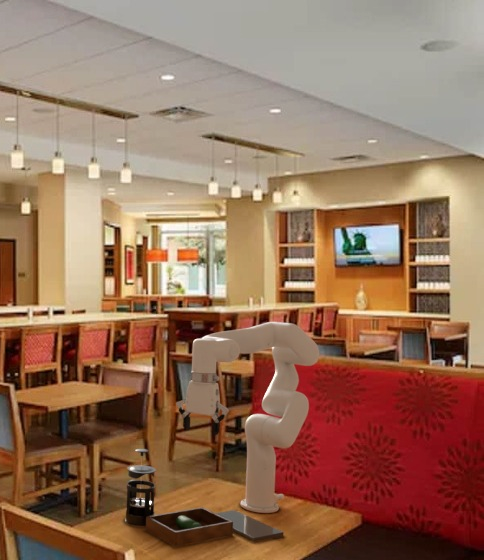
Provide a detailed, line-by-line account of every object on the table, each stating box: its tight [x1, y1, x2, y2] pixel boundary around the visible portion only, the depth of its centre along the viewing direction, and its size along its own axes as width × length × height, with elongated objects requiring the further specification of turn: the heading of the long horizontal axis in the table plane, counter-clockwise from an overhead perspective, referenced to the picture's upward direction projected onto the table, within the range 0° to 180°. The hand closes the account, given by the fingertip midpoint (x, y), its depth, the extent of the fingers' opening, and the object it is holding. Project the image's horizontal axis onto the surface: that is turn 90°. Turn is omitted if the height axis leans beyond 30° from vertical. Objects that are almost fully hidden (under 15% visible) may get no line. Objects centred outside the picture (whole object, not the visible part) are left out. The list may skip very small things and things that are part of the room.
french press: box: [124, 448, 157, 527], centre depth 229 cm, size 12×9×23 cm
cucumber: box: [176, 516, 202, 530], centre depth 220 cm, size 4×10×4 cm, turn 29°
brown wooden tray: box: [145, 506, 234, 547], centre depth 220 cm, size 22×15×4 cm
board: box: [214, 509, 285, 543], centre depth 227 cm, size 12×22×2 cm, turn 29°
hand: (200, 432), depth 229 cm, fingers open, 9 cm apart
